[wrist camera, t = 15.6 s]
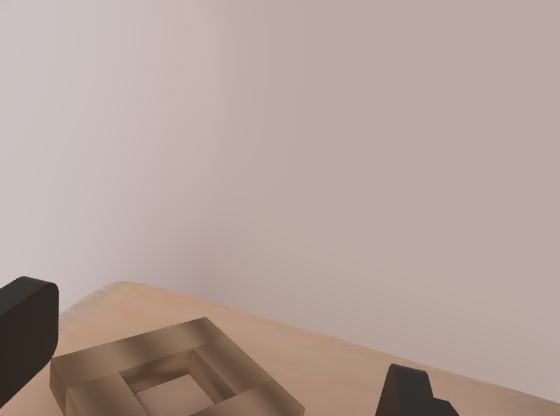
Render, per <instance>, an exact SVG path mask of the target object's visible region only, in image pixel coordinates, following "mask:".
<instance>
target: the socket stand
mask: <svg viewBox="0 0 560 416" xmlns="http://www.w3.org/2000/svg"><path fill="white" fill-rule="evenodd" d="M186 374H190V375H191V376H192V378H193V379H194V380H195V381H196V382H197V383H198V384H199V385H200V387H201V388H202V389H203V390H204V391H205V392H206V393H207V395H208V396H209V397H210V398H211V399H212V400H213V401H214V403H215V405H213V406H211V407H209V408H206V409H204V410H202V411H199V412H197V413H195V414H192V415H190V416H303V414H304V410H305V408H304V407H303V406H302V405H301V404H300V403H299V402H298V401H297V400H296V399H294V398H293V397H292V396H291V395H290V394H289V393H288V392H287V391H286V390H285V389H284V388H283V387H281V386H280V385H279V384H278V383H277V382H276V381H275V380H274V379H273V378H272V377H271V376H270V375H268V374H267V373H266V372H265V371H264V370H263V369H262V368H261V367H260V366H259V365H258V364H257V363H255V362H254V361H253V360H252V359H251V358H250V357H249V356H248V355H247V354H246V353H245V352H243V351H242V350H241V349H240V348H239V347H238V346H237V345H236V344H235V343H234V342H233V341H232V340H230V339H229V338H228V337H227V336H226V335H225V334H224V333H223V332H222V331H221V330H220V329H219V328H217V327H216V326H215V325H214V324H213V323H212V322H211V321H210V320H209V319H208V318H207V317H204V318H200V319H196V320H192V321H189V322H185V323H181V324H178V325H174V326H170V327H166V328H163V329H159V330H155V331H151V332H148V333H144V334H140V335H137V336H133V337H129V338H125V339H122V340H118V341H114V342H111V343H107V344H103V345H99V346H96V347H92V348H88V349H84V350H81V351H77V352H73V353H70V354H66V355H62V356H58V357H55V358H51V365H50V389H51V391H52V393H53V395H54V397H55V399H56V401H57V403H58V405H59V407H60V409H61V411H62V413H63V415H64V416H149V415H148V414H147V412H146V411H145V409H144V408H143V407H142V405H141V404H140V402H139V401H138V399H137V398H136V397H135V395H134V394H133V393H136V392H139V391H142V390H144V389H147V388H150V387H153V386H156V385H158V384H161V383H164V382H167V381H169V380H172V379H175V378H178V377H181V376H183V375H186Z"/></svg>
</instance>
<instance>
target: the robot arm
mask: <svg viewBox="0 0 560 416" xmlns="http://www.w3.org/2000/svg"><path fill="white" fill-rule="evenodd" d="M58 317H59V290H58V287H57V285H56V284H54V283H51V282H47V281H43V280H39V279H34V278H30V277H26V276H22V277H20V278H17V279H16V280H14V281H12V282H11V283H9V284H7V285H6V286H4V287H2V288H1V289H0V408H2V407H3V406H4V405H5V404H6V403H7V402H8V401H9V400H10V399H11V398H12V397H13V396H14V395H15V394H16V393H17V392H18V391H19V390H21V389H22V388H23V387H24V386H25V385H26V384H27V383H28V382H29V381H30V380H31V379H32V378H33V377H34V376H35V375H36V374H37V373H38V372H40V371H41V370H42V369H43V368H44V367H45V366H46V365H47V364H48V362H49V361H50V359H51V358H52V356H53V354H54V352H55V350H56V347H57V343H58ZM375 416H459V414H458V413H457V412H456V411H455V409H454V408H453V407H452V405H451V404H450V403H449V402H448V401H445V400H441V399H437V398H434V397H433V393H432V389H431V386H430V382H429V378H428V374H427V372H425V371H422V370H417V369H413V368H409V367H405V366H400V365H396V364H391V365H390V367H389V370H388V373H387V376H386V380H385V383H384V387H383V390H382V394H381V397H380V401H379V404H378V408H377V411H376V414H375Z"/></svg>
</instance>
